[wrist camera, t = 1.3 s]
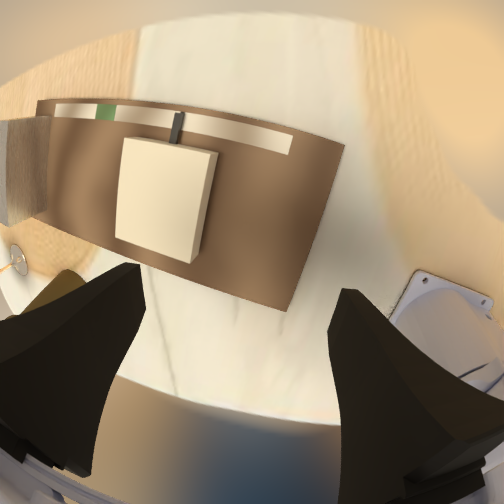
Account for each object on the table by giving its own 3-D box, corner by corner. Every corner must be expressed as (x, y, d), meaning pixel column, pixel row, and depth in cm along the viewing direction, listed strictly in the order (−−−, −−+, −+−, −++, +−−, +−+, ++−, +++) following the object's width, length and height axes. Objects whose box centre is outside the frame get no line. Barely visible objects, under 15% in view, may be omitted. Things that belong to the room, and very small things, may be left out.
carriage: (226, 121, 15) (218, 119, 14) (198, 254, 19) (189, 263, 18) (142, 108, 16) (129, 107, 14) (126, 230, 19) (115, 237, 18)
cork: (55, 261, 25) (-17, 313, 15) (93, 281, 24) (18, 347, 14) (61, 304, 27) (3, 357, 17) (97, 325, 27) (38, 389, 17)
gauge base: (342, 144, 15) (344, 145, 14) (287, 304, 21) (286, 313, 20) (45, 100, 18) (36, 100, 16) (38, 214, 23) (31, 217, 22)
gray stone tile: (52, 115, 17) (8, 120, 13) (47, 209, 21) (8, 227, 16) (40, 115, 17) (-1, 120, 13) (36, 205, 21) (-1, 221, 17)
